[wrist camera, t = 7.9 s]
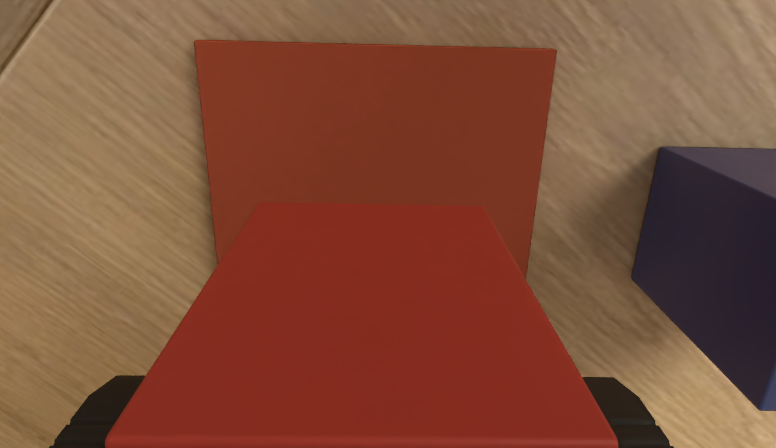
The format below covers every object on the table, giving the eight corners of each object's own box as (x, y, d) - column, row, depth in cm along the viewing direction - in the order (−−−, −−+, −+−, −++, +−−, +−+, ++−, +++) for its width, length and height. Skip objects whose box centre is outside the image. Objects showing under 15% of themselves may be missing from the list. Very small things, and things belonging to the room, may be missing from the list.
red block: (257, 200, 11) (100, 440, 5) (484, 204, 12) (624, 442, 5) (270, 387, 13) (167, 743, 7) (466, 388, 13) (552, 739, 7)
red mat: (197, 39, 16) (193, 40, 16) (553, 48, 16) (557, 49, 16) (229, 343, 20) (226, 349, 20) (513, 346, 20) (516, 352, 20)
